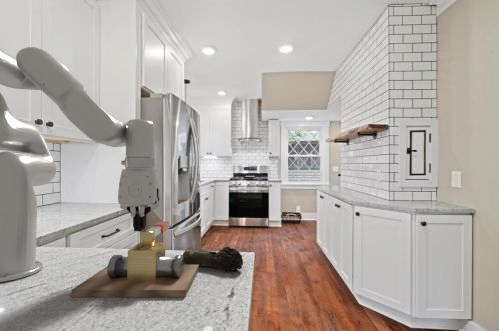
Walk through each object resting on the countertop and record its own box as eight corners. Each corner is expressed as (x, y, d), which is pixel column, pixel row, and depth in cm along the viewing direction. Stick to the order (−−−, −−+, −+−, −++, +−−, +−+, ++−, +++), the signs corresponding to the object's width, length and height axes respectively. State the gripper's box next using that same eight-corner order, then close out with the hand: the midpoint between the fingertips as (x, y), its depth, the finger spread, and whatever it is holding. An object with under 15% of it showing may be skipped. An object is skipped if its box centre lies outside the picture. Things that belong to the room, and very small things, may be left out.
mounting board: (71, 297, 54) (71, 289, 54) (109, 270, 69) (109, 264, 69) (185, 297, 54) (185, 289, 54) (198, 270, 69) (199, 264, 69)
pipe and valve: (105, 283, 58) (105, 250, 58) (120, 271, 65) (120, 242, 65) (177, 283, 58) (177, 250, 59) (184, 271, 65) (185, 242, 65)
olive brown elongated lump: (181, 266, 73) (181, 246, 73) (195, 259, 79) (195, 241, 79) (237, 276, 66) (237, 253, 66) (248, 267, 72) (248, 247, 72)
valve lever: (151, 246, 60) (152, 232, 60) (138, 246, 60) (138, 232, 60) (169, 233, 74) (169, 221, 74) (158, 233, 74) (158, 221, 74)
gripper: (106, 164, 69) (105, 233, 68) (161, 163, 68) (160, 233, 67) (121, 165, 76) (121, 227, 76) (171, 164, 75) (170, 227, 75)
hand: (139, 230), depth 71 cm, fingers closed
